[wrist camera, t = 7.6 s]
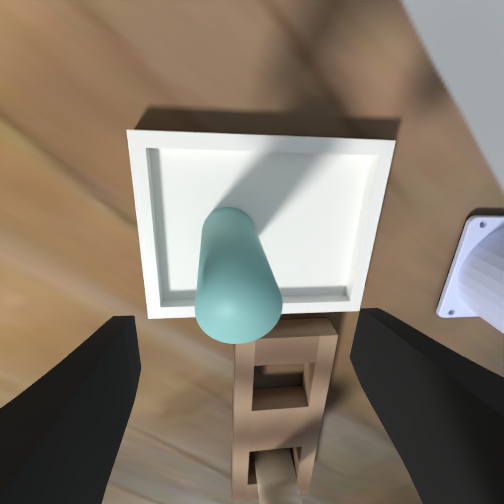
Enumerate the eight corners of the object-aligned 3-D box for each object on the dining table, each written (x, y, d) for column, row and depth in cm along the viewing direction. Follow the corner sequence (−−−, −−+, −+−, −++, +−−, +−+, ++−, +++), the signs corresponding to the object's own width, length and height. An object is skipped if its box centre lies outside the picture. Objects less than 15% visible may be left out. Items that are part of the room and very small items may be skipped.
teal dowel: (254, 206, 18) (284, 267, 10) (254, 255, 19) (280, 340, 12) (200, 207, 17) (191, 272, 10) (203, 258, 19) (197, 346, 11)
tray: (382, 139, 17) (395, 140, 16) (350, 299, 22) (359, 310, 21) (133, 129, 16) (126, 130, 14) (152, 306, 20) (148, 318, 19)
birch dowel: (288, 429, 27) (317, 544, 19) (285, 452, 28) (311, 569, 21) (253, 432, 26) (268, 551, 19) (251, 456, 27) (265, 576, 20)
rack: (233, 321, 21) (235, 339, 19) (327, 317, 22) (338, 335, 20) (230, 477, 28) (232, 502, 27) (302, 470, 29) (308, 493, 27)
